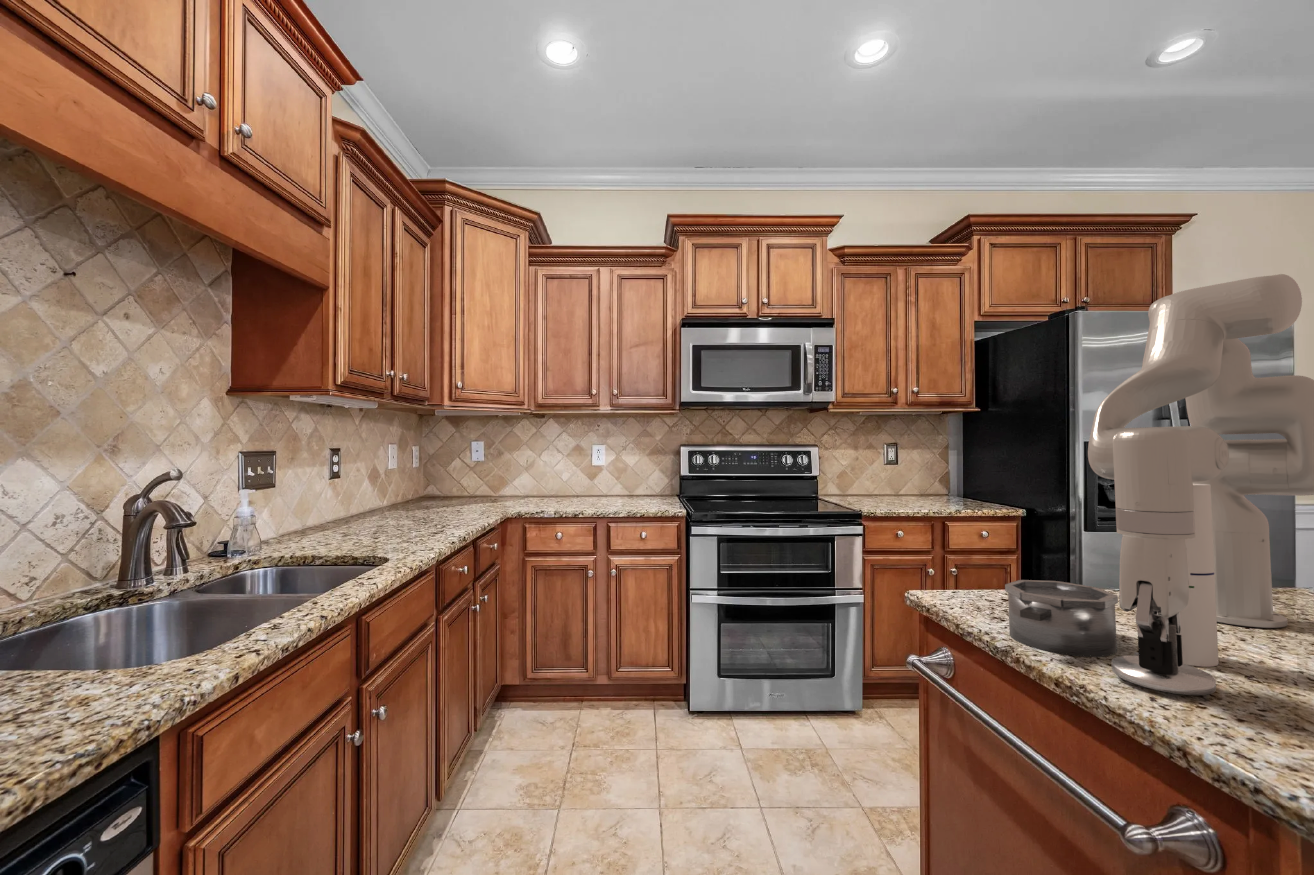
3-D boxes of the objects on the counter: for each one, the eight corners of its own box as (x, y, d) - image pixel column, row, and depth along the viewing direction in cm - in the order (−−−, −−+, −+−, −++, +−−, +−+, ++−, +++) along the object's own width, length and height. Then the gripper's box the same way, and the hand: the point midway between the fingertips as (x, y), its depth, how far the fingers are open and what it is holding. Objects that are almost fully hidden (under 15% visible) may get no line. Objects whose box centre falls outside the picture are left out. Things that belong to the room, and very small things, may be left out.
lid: (1125, 657, 77) (1123, 607, 77) (1224, 680, 69) (1221, 624, 69) (1100, 675, 71) (1097, 621, 71) (1204, 702, 63) (1201, 642, 63)
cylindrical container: (1233, 668, 75) (1224, 485, 76) (1172, 664, 76) (1164, 485, 77) (1193, 649, 82) (1185, 483, 83) (1138, 647, 83) (1131, 483, 84)
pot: (1040, 618, 98) (1038, 573, 98) (1138, 639, 87) (1136, 588, 87) (982, 642, 86) (980, 591, 86) (1087, 670, 75) (1085, 611, 75)
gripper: (1137, 515, 78) (1143, 644, 78) (1094, 527, 69) (1101, 673, 68) (1210, 520, 72) (1217, 660, 71) (1174, 533, 63) (1182, 695, 62)
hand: (1160, 665), depth 70 cm, fingers closed on lid, 3 cm apart
